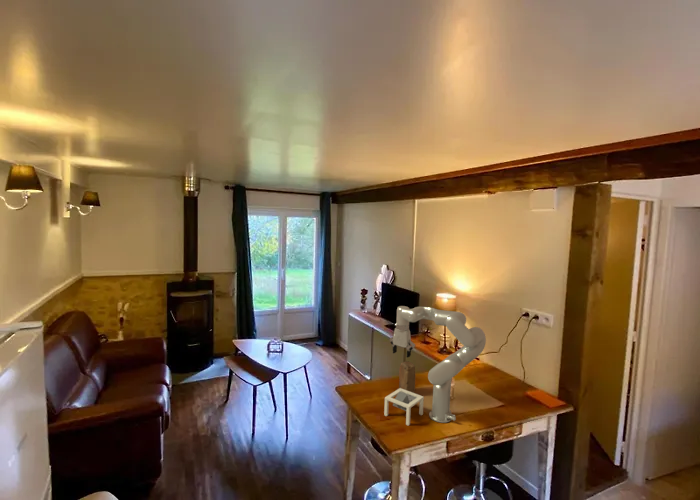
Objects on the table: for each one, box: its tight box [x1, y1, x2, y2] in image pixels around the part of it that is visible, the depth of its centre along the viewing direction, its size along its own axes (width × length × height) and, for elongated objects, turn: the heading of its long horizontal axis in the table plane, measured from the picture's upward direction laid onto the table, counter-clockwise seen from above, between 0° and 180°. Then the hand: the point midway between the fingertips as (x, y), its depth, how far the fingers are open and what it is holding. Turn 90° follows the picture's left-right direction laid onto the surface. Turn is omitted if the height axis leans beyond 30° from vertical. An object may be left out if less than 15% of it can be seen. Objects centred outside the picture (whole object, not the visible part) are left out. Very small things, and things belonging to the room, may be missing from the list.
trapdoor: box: [392, 392, 417, 412], centre depth 213 cm, size 10×10×1 cm
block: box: [398, 361, 416, 393], centre depth 239 cm, size 11×8×20 cm
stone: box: [394, 392, 409, 408], centre depth 211 cm, size 5×5×6 cm
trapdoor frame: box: [383, 387, 425, 426], centre depth 213 cm, size 16×16×10 cm
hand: (401, 354), depth 224 cm, fingers open, 9 cm apart
